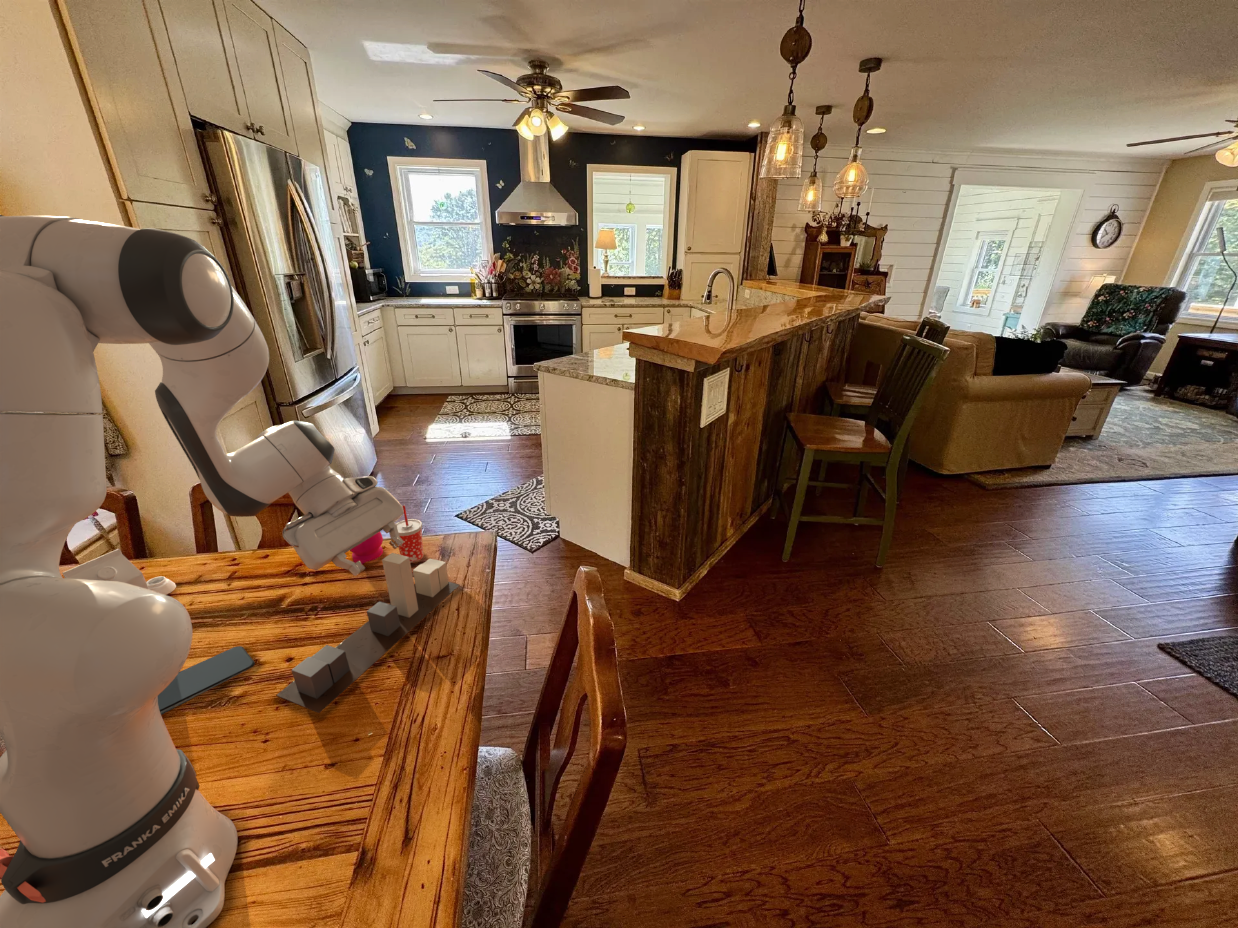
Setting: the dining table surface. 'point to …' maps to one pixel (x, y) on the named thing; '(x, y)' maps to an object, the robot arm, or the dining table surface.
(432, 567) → the cream white block
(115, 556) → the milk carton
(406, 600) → the tall white block
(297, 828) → the dining table surface
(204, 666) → the smartphone
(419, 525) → the beverage cup
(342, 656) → the dark grey block row
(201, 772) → the dining table surface
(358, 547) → the pepper mill
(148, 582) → the lidless jar
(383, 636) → the shelf plank
